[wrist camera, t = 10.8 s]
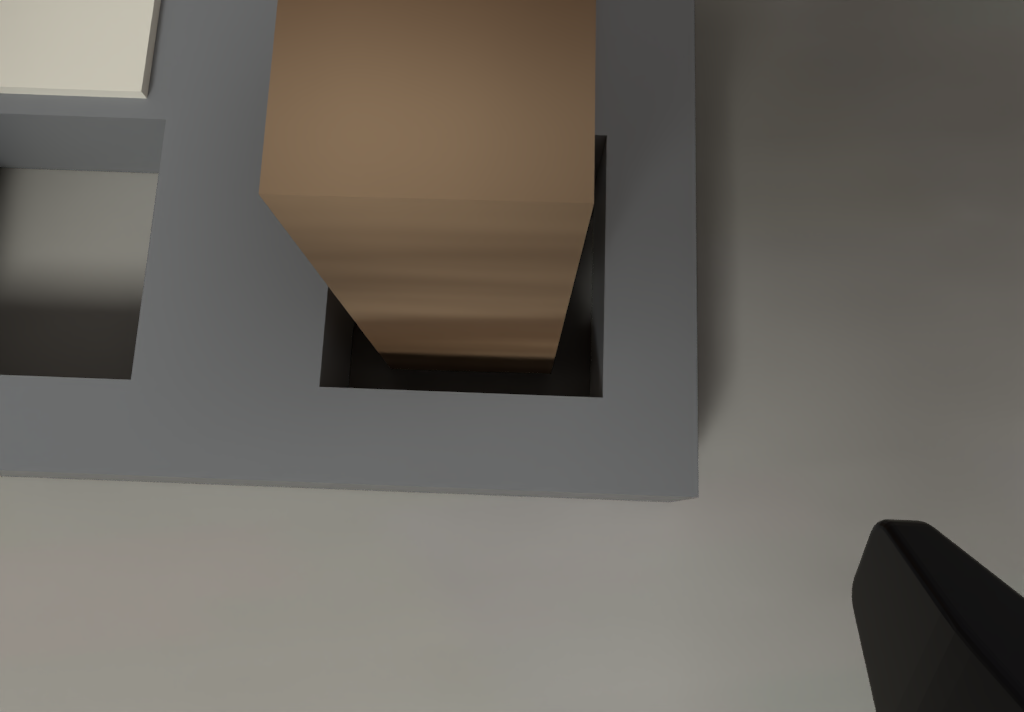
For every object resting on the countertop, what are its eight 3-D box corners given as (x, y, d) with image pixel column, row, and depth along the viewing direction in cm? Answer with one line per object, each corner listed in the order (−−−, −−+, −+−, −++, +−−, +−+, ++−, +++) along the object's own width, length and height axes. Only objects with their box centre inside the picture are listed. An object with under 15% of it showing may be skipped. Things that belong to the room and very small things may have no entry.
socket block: (670, 502, 20) (701, 496, 17) (-152, 469, 20) (-280, 458, 17) (670, -12, 23) (696, -102, 20) (-50, -37, 23) (-142, -130, 20)
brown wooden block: (550, 373, 21) (593, 203, 10) (390, 369, 21) (257, 194, 10) (553, 222, 21) (596, -89, 11) (400, 217, 21) (286, -96, 11)
